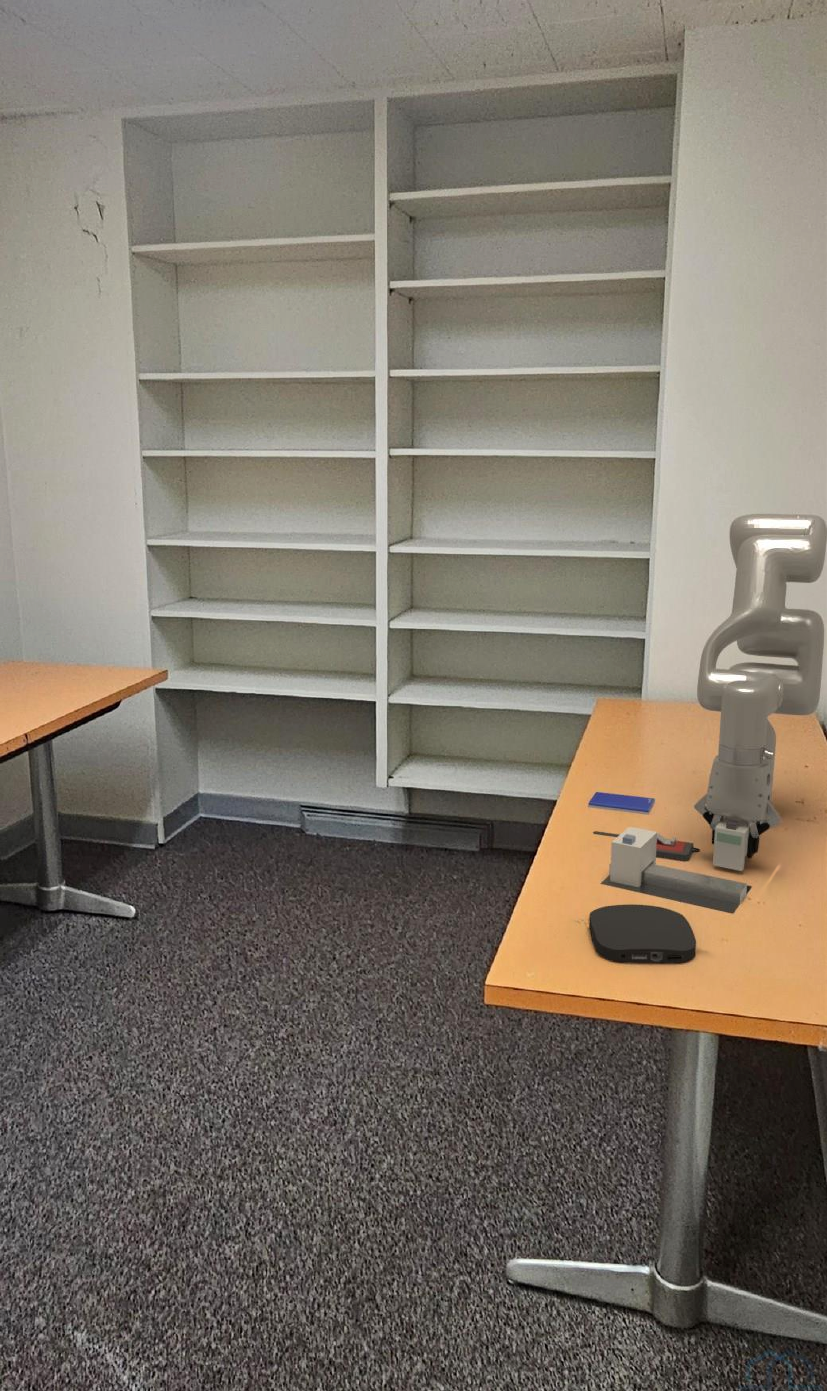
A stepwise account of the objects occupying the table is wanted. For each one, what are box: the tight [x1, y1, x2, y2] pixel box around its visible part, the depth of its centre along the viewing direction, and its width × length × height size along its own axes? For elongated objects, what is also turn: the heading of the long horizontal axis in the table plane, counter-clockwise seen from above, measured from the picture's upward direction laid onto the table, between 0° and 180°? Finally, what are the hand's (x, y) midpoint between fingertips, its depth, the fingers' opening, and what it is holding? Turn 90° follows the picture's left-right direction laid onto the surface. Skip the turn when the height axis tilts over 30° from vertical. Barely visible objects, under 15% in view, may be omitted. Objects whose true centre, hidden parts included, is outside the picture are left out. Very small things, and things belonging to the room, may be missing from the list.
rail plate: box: [600, 862, 753, 915], centre depth 168 cm, size 12×22×3 cm, turn 58°
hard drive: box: [587, 791, 656, 815], centre depth 210 cm, size 2×8×12 cm
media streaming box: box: [588, 904, 697, 965], centre depth 151 cm, size 15×15×3 cm
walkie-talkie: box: [592, 830, 700, 863], centre depth 185 cm, size 9×4×20 cm
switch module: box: [712, 816, 751, 872], centre depth 176 cm, size 9×5×8 cm, turn 148°
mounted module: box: [610, 826, 658, 887], centre depth 171 cm, size 8×5×8 cm, turn 148°
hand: (734, 851), depth 176 cm, fingers closed on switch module, 5 cm apart
